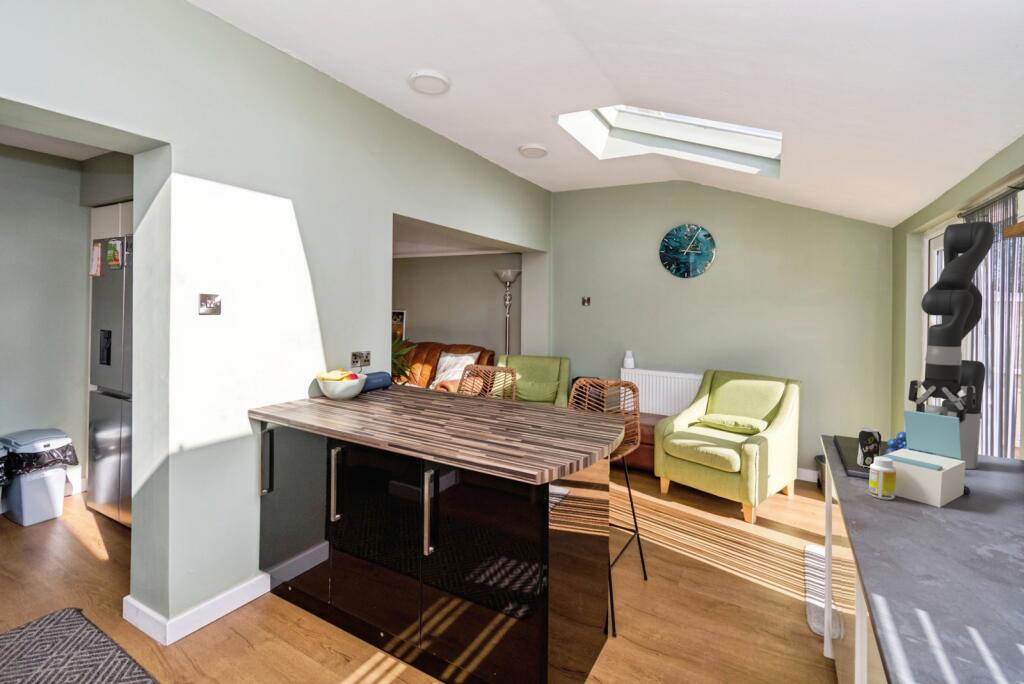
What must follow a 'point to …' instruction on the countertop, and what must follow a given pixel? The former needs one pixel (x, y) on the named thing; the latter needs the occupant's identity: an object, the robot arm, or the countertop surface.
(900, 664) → the countertop surface
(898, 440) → the grapes
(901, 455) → the carton
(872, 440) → the beverage can
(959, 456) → the flap
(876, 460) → the supplement bottle
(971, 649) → the countertop surface
